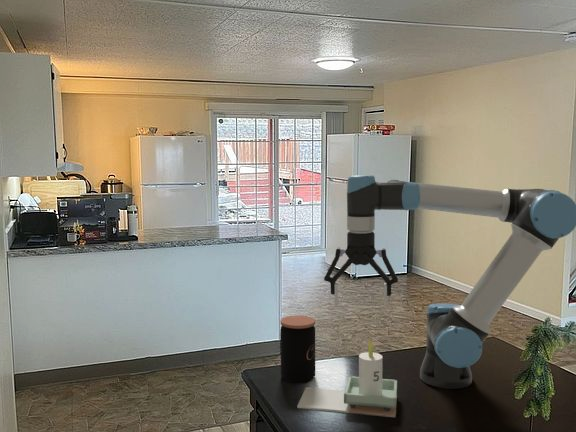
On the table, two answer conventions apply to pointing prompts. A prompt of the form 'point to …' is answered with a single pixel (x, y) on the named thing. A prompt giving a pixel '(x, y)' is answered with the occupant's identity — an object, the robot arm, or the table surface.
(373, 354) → the candle
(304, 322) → the coffee jar
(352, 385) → the mint green tray
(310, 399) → the board
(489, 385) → the table surface
